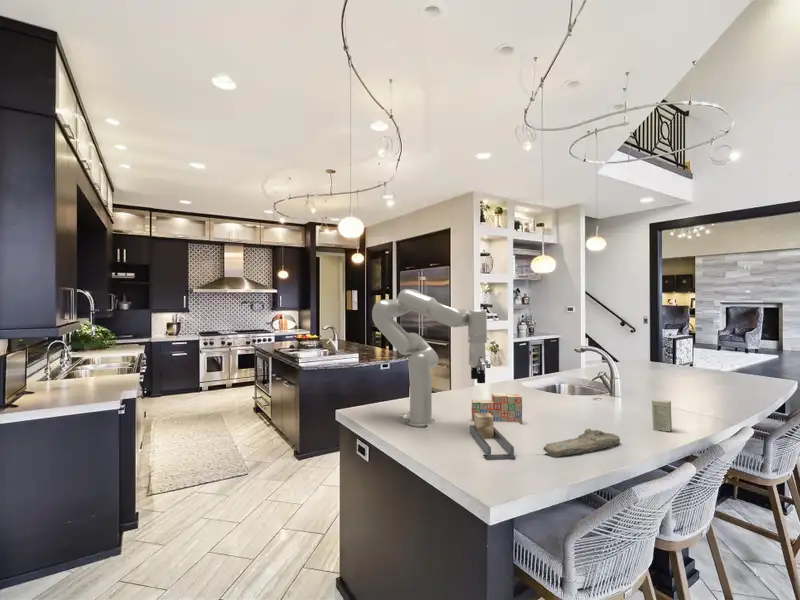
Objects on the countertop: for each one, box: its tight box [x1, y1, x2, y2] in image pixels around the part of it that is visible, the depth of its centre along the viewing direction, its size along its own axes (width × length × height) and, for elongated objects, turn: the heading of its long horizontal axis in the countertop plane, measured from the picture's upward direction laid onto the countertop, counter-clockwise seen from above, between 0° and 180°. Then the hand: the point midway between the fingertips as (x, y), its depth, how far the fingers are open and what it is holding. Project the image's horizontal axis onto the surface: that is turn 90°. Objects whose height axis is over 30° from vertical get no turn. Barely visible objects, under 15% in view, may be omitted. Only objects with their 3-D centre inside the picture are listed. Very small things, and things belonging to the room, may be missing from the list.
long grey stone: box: [543, 428, 621, 458], centre depth 149 cm, size 35×5×10 cm
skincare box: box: [651, 398, 673, 433], centre depth 171 cm, size 6×4×12 cm
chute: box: [469, 424, 516, 461], centre depth 151 cm, size 10×26×4 cm, turn 4°
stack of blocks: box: [471, 392, 523, 425], centre depth 183 cm, size 21×6×12 cm, turn 85°
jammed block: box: [473, 413, 495, 439], centre depth 159 cm, size 6×6×8 cm
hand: (477, 380), depth 169 cm, fingers open, 9 cm apart
